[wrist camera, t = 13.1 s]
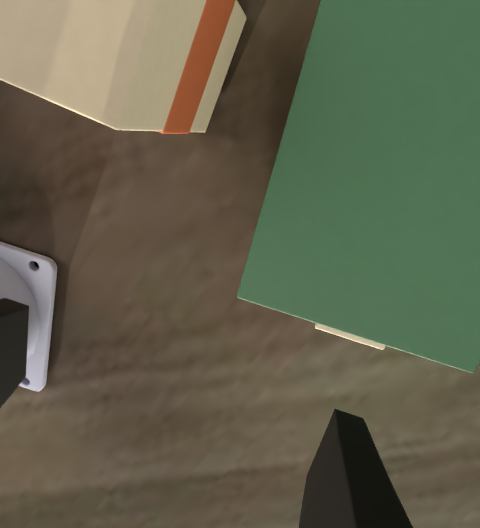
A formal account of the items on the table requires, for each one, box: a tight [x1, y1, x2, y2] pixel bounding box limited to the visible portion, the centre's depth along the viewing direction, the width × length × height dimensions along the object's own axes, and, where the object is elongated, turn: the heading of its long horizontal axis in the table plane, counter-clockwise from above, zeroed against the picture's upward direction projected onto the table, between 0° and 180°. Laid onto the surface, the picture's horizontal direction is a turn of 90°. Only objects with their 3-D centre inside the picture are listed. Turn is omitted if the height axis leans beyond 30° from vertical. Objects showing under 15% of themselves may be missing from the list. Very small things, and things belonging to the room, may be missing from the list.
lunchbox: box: [237, 0, 480, 373], centre depth 14 cm, size 8×14×5 cm, turn 165°
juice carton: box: [0, 0, 247, 134], centre depth 13 cm, size 4×6×8 cm
